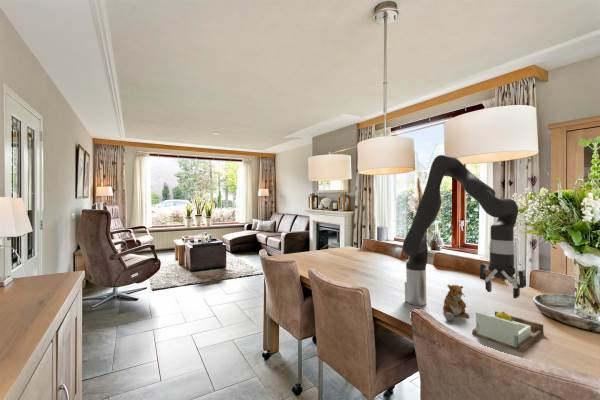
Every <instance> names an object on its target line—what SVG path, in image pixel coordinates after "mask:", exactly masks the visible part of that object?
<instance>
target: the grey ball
mask: <svg viewBox="0 0 600 400" xmlns="http://www.w3.org/2000/svg"><path fill="white" fill-rule="evenodd" d="M444 317H445V320H446V321H447V322H453V321H455V315H453V314H452V313H446V314H444Z"/></svg>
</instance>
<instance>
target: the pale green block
mask: <svg viewBox="0 0 600 400" xmlns="http://www.w3.org/2000/svg"><path fill="white" fill-rule="evenodd" d="M481 312H482V311H476V312H475V328H476V333H477V334H480V335H483V336H486V337H488V338H491V339H494V340H497V341H500V342H503V343H505V344H508V345H511V346H514V347H517V348H518V347H519V345H520V344H522V343H523V342H524V341H525V340H527V339H528V338H529V337H531V326H529V325H526V324H522V323H519V322H515V321H512V322H511V321H508V320H504V319H501V318H498V317H495V314H487V313H486V314H484V313H481Z"/></svg>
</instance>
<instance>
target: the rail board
mask: <svg viewBox="0 0 600 400" xmlns="http://www.w3.org/2000/svg"><path fill="white" fill-rule="evenodd" d="M497 313H499V311H494V315H495V316H496V314H497ZM508 315H509V316H510V317H511V319H512V321H515V322H519V323H522V324H526V325H529V326H531V337H529V338H528V339H527V340H525V341H524V342H523V343H522V344H520V345H519V347H518V348H517V347H514V346H511V345H508V344H505V343H503V342H500V341H497V340H494V339H491V338H488V337H486V336H483V335H480V334H477V333H476V327H474V328H473V329H472V331H471V333H472V334H471V335H474V336H476V337H480V338H483V339H485V340H487V341H491V342H494V343H496V344H499V345H502V346H504V347H508V348H510V349H512V350H516V351H518V352H521V353H523V352H525V351H526V350H527V349H528V348H530V347H531V346H532V345H533V344H534V343H535V342H537V341H538V340H539V339H540V338H541V337H542V336H544V335H545V334H544V324H543V323H539V322H535V321H532V320H528V319H524V318H521V317H518V316H513V315H510V314H508Z"/></svg>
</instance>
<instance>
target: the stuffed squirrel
mask: <svg viewBox="0 0 600 400" xmlns="http://www.w3.org/2000/svg"><path fill="white" fill-rule="evenodd" d="M447 287H448V289H449V290H448V292H447V294H446V295H445V299H444V301H443V306H442V309H443V310H442V311H443V314H444V315H445V314H446V313H452V314H453V315H454V316H461V317H464V318H470V314H469V313H467V312H466V308H467V304H466V302H465V301H464V299H462V296H463V297H464V298H465V297H466V294H464V293H463V291H462V290H463V288H464V286H463V285H461V286H460V285H458V284H457V285H456V284H452V285H451V284H447Z"/></svg>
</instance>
